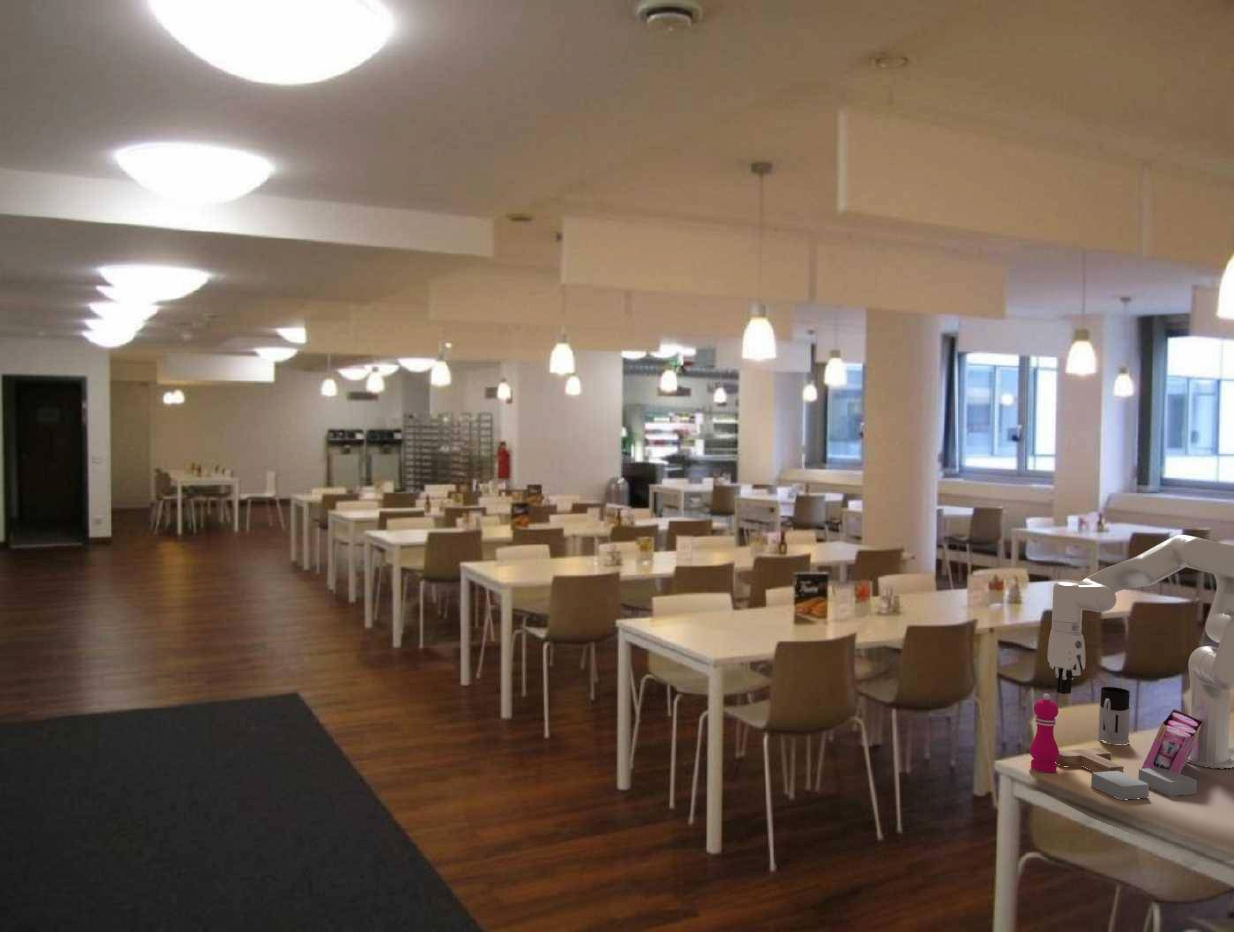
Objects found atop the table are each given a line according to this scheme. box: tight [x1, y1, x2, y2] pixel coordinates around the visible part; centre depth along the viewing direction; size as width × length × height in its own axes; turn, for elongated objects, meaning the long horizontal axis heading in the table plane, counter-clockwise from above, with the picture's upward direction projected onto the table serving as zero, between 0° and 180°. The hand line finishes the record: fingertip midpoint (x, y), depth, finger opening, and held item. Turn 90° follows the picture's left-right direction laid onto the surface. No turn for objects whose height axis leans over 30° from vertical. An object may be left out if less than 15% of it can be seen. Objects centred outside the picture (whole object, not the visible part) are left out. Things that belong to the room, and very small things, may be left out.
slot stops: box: [1090, 768, 1198, 801], centre depth 246 cm, size 22×10×4 cm, turn 106°
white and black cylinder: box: [1096, 686, 1131, 744], centre depth 285 cm, size 9×14×15 cm, turn 138°
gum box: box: [1140, 708, 1203, 774], centre depth 260 cm, size 24×8×14 cm, turn 143°
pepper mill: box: [1029, 693, 1060, 773], centre depth 260 cm, size 7×7×20 cm
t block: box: [1055, 747, 1124, 773], centre depth 261 cm, size 15×14×3 cm
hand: (1063, 692), depth 273 cm, fingers closed
